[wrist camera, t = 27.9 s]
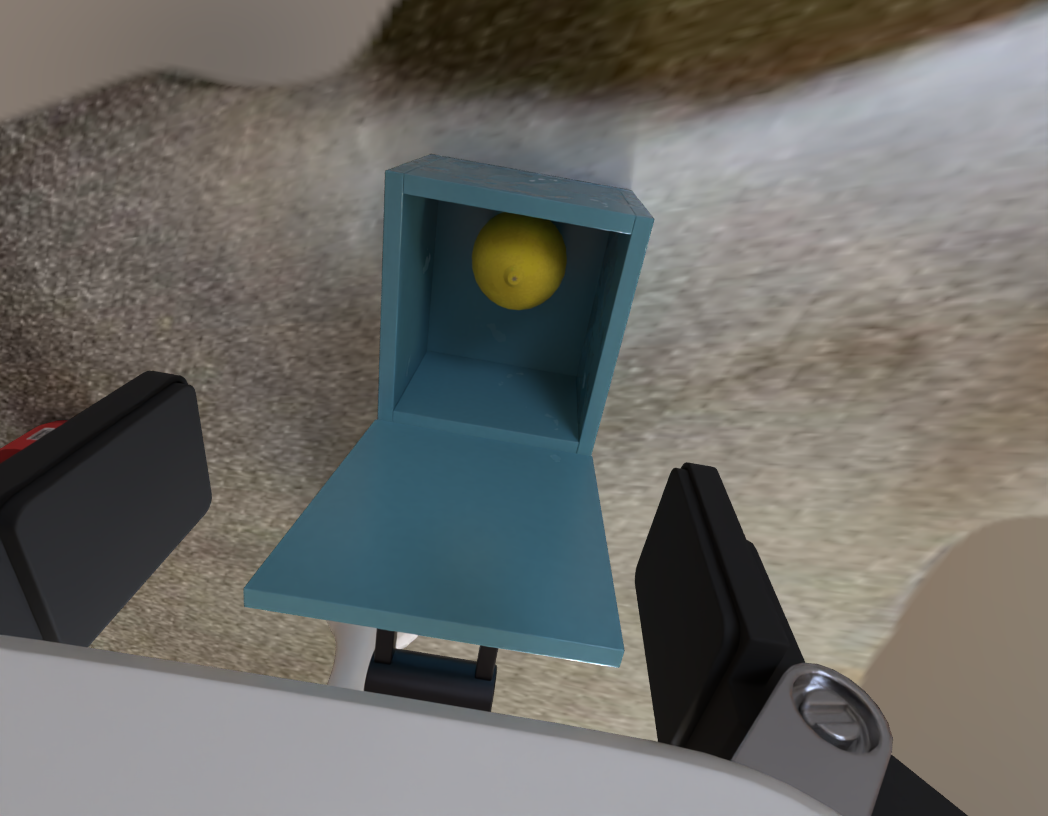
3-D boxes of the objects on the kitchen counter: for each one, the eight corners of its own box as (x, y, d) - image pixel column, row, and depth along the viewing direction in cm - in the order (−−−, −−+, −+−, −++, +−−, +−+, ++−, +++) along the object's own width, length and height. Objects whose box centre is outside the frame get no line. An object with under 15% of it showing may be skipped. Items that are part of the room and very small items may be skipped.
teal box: (430, 153, 34) (384, 170, 25) (632, 190, 34) (654, 218, 26) (417, 354, 41) (377, 421, 32) (585, 383, 41) (590, 457, 32)
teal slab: (242, 588, 18) (246, 723, 20) (625, 650, 18) (586, 777, 20) (375, 418, 31) (368, 511, 34) (592, 456, 32) (571, 545, 34)
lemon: (494, 294, 37) (478, 337, 30) (471, 211, 35) (448, 237, 28) (574, 276, 36) (576, 317, 29) (556, 189, 34) (554, 211, 27)
